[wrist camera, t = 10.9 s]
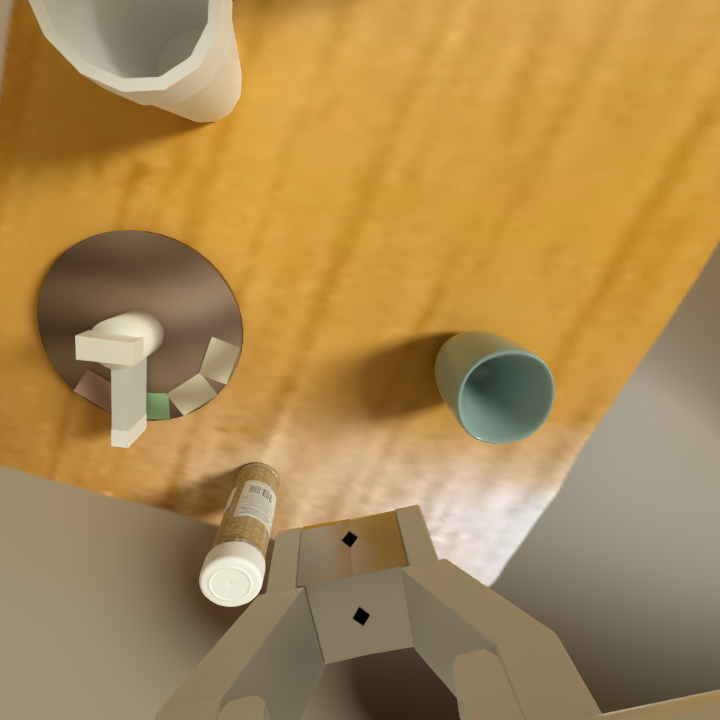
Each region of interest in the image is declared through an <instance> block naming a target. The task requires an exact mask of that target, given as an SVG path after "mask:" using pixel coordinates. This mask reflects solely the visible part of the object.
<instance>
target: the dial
mask: <svg viewBox="0 0 720 720" xmlns="http://www.w3.org/2000/svg"><path fill="white" fill-rule="evenodd" d="M131 310H143V311H147V312H149V313H151V314H152V315H154V316H155V317H156V318H157V319H158V320H159V321H160V323H161V325H162V327H163V330H164V340H163V343H162V345H161V346H160V348H159V349H158V350H156V351H155V352H153V353H152V354H150V355H149V356H147V379H146V414H147V420H149V421H156V420H170V419H172V418H177V417H181V416H185V415H187V414H189V413H191V412H194V411H196V410H198V409H200V408H201V407H203V406H204V405H206V404H207V403H209V402H210V401H211V400H212V399H213V398H215V397H216V396H217V395H218V394H219V392H220V391H221V390H222V389H223V388H224V387H225V385H226V384H227V382H228V381H229V379H230V378H231V376H232V375H233V373H234V371H235V369H236V366H237V364H238V362H239V358H240V355H241V351H242V344H243V325H242V317H241V314H240V310H239V306H238V303H237V301H236V298H235V296H234V294H233V292H232V290H231V288H230V286H229V285H228V283H227V281H226V280H225V279H224V277H223V276H222V275H221V273H220V272H219V271H218V270H217V269H216V268H215V267H214V266H213V264H212V263H211V262H210V261H208V260H207V259H206V258H205V257H204V256H202V255H201V254H200V253H199V252H197V251H196V250H194V249H193V248H191V247H189V246H188V245H186V244H184V243H182V242H180V241H178V240H176V239H173V238H170V237H167V236H165V235H162V234H157V233H152V232H146V231H134V230H125V231H112V232H106V233H101V234H98V235H95V236H92V237H89V238H87V239H85V240H83V241H81V242H79V243H77V244H75V245H74V246H73V247H71V248H70V249H68V250H67V251H66V252H65V253H64V254H63V255H62V256H61V257H60V258H59V259H58V260H57V261H56V262H55V264H54V265H53V266H52V268H51V269H50V270H49V272H48V274H47V276H46V278H45V280H44V282H43V285H42V289H41V292H40V296H39V302H38V325H39V332H40V336H41V339H42V343H43V346H44V348H45V351H46V353H47V355H48V357H49V359H50V361H51V363H52V364H53V366H54V368H55V369H56V370H57V372H58V373H59V374H60V376H61V377H62V378H63V379H64V381H65V382H66V383H67V384H68V385H69V386H70V387H71V388H72V389H73V390H74V392H76V393H78V394H79V395H80V396H82V397H83V398H85V399H86V400H87V401H89V402H90V403H92V404H94V405H96V406H97V407H99V408H101V409H103V410H105V411H108V412H109V413H111V414H112V402H111V369H110V368H107V367H105V366H103V365H102V364H100V363H99V362H94V361H85V360H77V359H76V345H75V336H76V335H78V334H81V333H83V332H86V331H88V330H92V329H93V327H94V326H95V325H97V324H98V323H100V322H102V321H105V320H107V319H110V318H112V317H115V316H118V315H120V314H123V313H125V312H128V311H131Z"/></svg>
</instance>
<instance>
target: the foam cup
mask: <svg viewBox="0 0 720 720" xmlns="http://www.w3.org/2000/svg"><path fill="white" fill-rule="evenodd" d="M28 1H29V3H30V5H31V8H32V10H33V12H34V14H35V16H36V19H37V21H38V23H39V25H40V28H41V30H42V32H43V34H44V36H45V37H46V38H47V39H48V40H49V42H50V43H51V44H52V45H53V46H54V47H55V48H56V49H57V50H58V51H59V52H60V53H61V54H62V55H63V56H64V57H65V58H66V59H67V60H68V61H69V62H70V63H71V64H72V65H73V66H74V67H75V68H76V69H77V70H78V71H79V72H80V73H81V74H82V75H84V76H85V77H87V78H88V79H90V80H91V81H93V82H94V83H96V84H98V85H99V86H101V87H102V88H104V89H106V90H108V91H110V92H113V93H115V94H117V95H120V96H122V97H124V98H126V99H129V100H131V101H133V102H136V103H138V104H140V105H153V106H155V107H158V108H161V109H163V110H166V111H169V112H171V113H174V114H176V115H179V116H182V117H184V118H187V119H189V120H192V121H195V122H198V123H204V122H217V121H219V120H220V119H222V118H223V117H225V116H226V115H228V114H229V113H231V112H232V110H233V108H234V107H235V105H236V103H237V101H238V99H239V98H240V94H241V80H242V75H241V67H240V62H239V56H238V51H237V45H236V39H235V34H234V28H233V23H232V7H233V3H232V0H28Z"/></svg>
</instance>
